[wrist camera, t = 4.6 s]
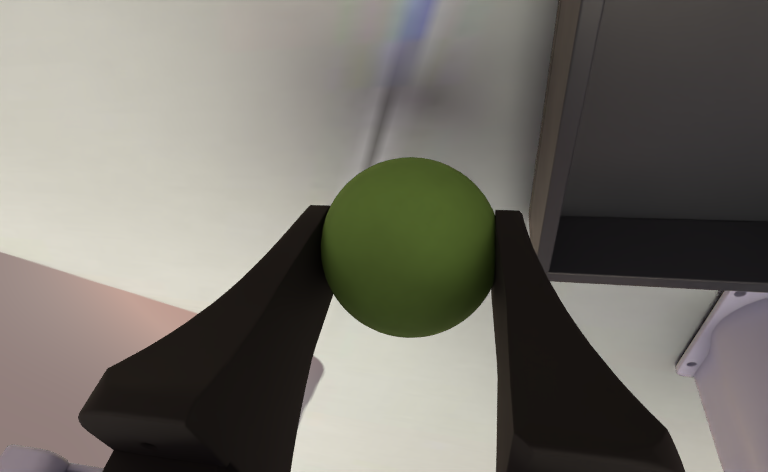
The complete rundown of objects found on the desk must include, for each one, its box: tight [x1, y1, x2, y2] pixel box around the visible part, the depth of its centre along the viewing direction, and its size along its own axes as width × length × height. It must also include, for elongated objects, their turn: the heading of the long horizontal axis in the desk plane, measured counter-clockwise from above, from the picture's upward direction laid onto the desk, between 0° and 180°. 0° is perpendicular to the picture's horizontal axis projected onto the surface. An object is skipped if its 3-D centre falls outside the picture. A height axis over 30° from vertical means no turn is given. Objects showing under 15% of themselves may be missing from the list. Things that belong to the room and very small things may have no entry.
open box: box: [529, 0, 768, 293], centre depth 15 cm, size 15×12×4 cm
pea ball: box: [321, 157, 495, 338], centre depth 13 cm, size 5×5×5 cm
